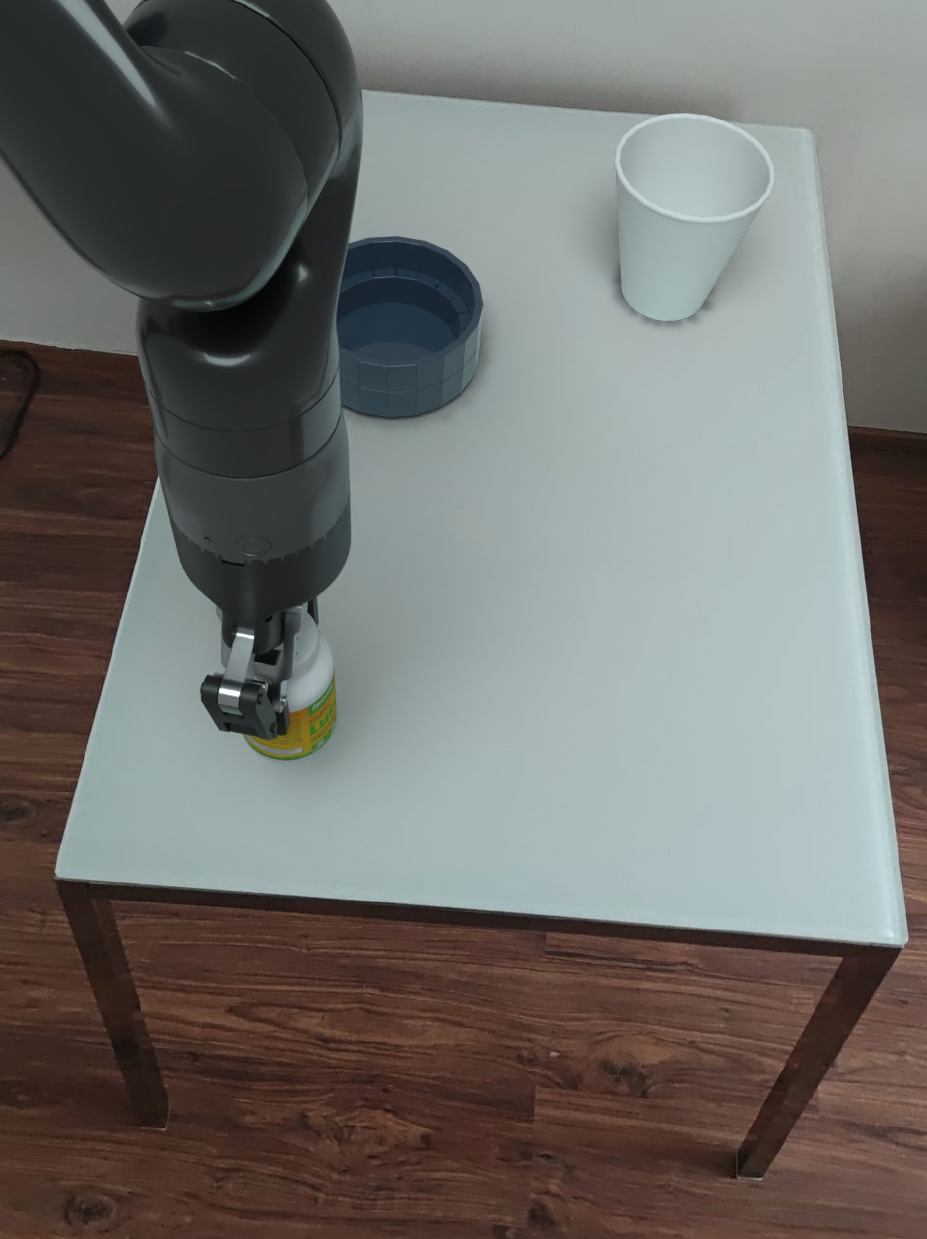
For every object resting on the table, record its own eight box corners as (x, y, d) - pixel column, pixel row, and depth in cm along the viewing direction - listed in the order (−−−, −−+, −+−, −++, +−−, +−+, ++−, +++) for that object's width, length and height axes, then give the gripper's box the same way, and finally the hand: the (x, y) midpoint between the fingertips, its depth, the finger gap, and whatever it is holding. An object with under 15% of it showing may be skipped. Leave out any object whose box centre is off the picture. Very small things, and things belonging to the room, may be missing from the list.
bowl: (287, 405, 91) (281, 348, 86) (329, 282, 98) (325, 223, 93) (460, 435, 90) (465, 380, 85) (490, 310, 97) (496, 252, 92)
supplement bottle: (325, 773, 67) (319, 692, 59) (229, 757, 67) (210, 673, 59) (346, 688, 70) (342, 598, 62) (253, 672, 70) (238, 581, 62)
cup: (673, 367, 95) (709, 244, 84) (560, 288, 99) (581, 160, 88) (764, 293, 100) (808, 167, 89) (652, 220, 104) (682, 91, 93)
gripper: (217, 335, 53) (250, 552, 68) (108, 609, 46) (172, 787, 60) (385, 366, 53) (382, 577, 67) (303, 646, 45) (320, 816, 60)
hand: (282, 675), depth 64 cm, fingers closed on supplement bottle, 5 cm apart
